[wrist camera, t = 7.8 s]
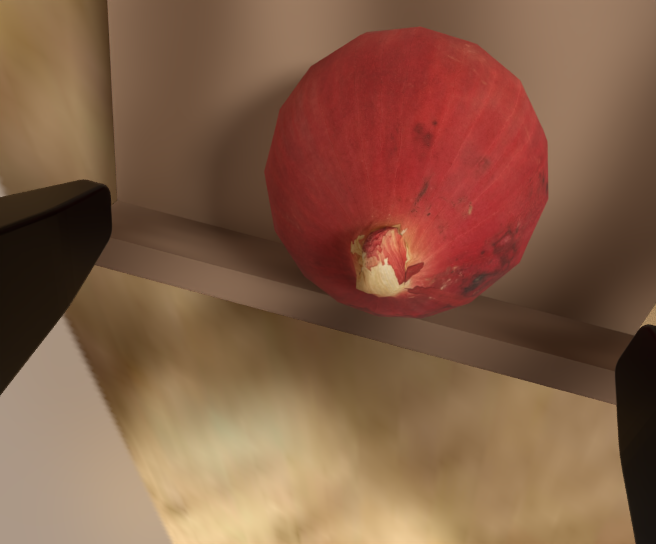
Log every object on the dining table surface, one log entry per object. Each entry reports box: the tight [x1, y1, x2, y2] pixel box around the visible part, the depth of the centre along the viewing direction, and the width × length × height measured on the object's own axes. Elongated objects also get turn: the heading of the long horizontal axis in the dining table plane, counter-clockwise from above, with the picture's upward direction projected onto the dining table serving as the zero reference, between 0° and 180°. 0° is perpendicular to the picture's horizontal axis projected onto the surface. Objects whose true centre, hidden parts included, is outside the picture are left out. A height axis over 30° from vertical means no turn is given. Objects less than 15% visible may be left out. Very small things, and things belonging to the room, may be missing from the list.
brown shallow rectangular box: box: [95, 0, 656, 405], centre depth 16 cm, size 17×12×6 cm
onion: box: [264, 27, 548, 318], centre depth 12 cm, size 6×6×8 cm
